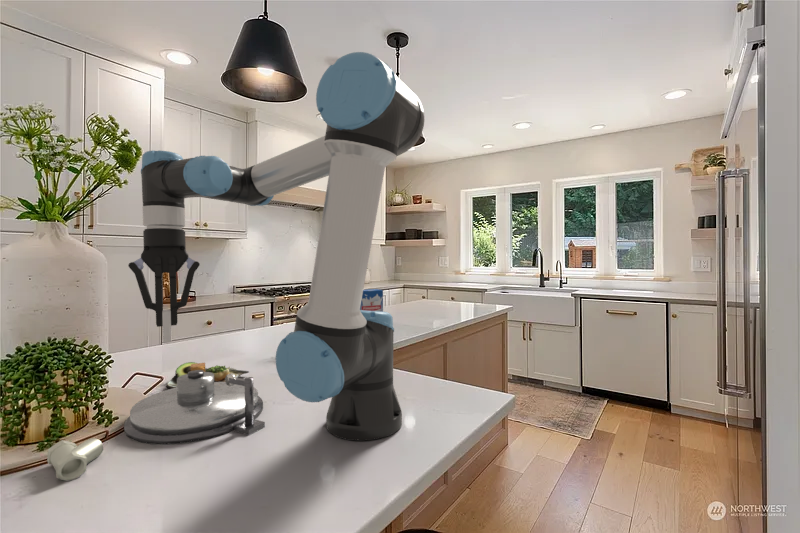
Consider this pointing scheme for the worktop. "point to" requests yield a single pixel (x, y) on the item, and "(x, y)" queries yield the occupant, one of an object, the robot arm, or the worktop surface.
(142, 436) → the turntable base
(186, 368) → the salad plate
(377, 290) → the milk carton
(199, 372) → the cast cover
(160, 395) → the turntable
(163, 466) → the worktop surface
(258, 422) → the stand
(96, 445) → the pipe fitting
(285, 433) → the worktop surface
